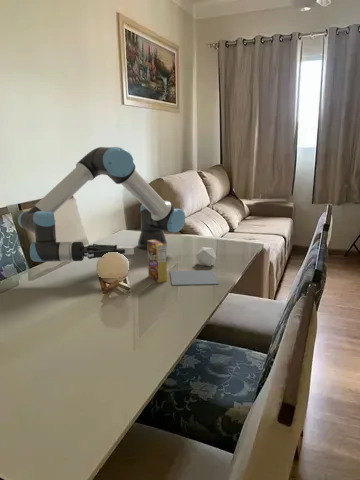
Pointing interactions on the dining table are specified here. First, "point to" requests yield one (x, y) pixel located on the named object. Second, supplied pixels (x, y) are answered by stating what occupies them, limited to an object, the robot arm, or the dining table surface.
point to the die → (206, 256)
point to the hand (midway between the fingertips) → (133, 250)
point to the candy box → (157, 260)
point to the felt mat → (193, 278)
